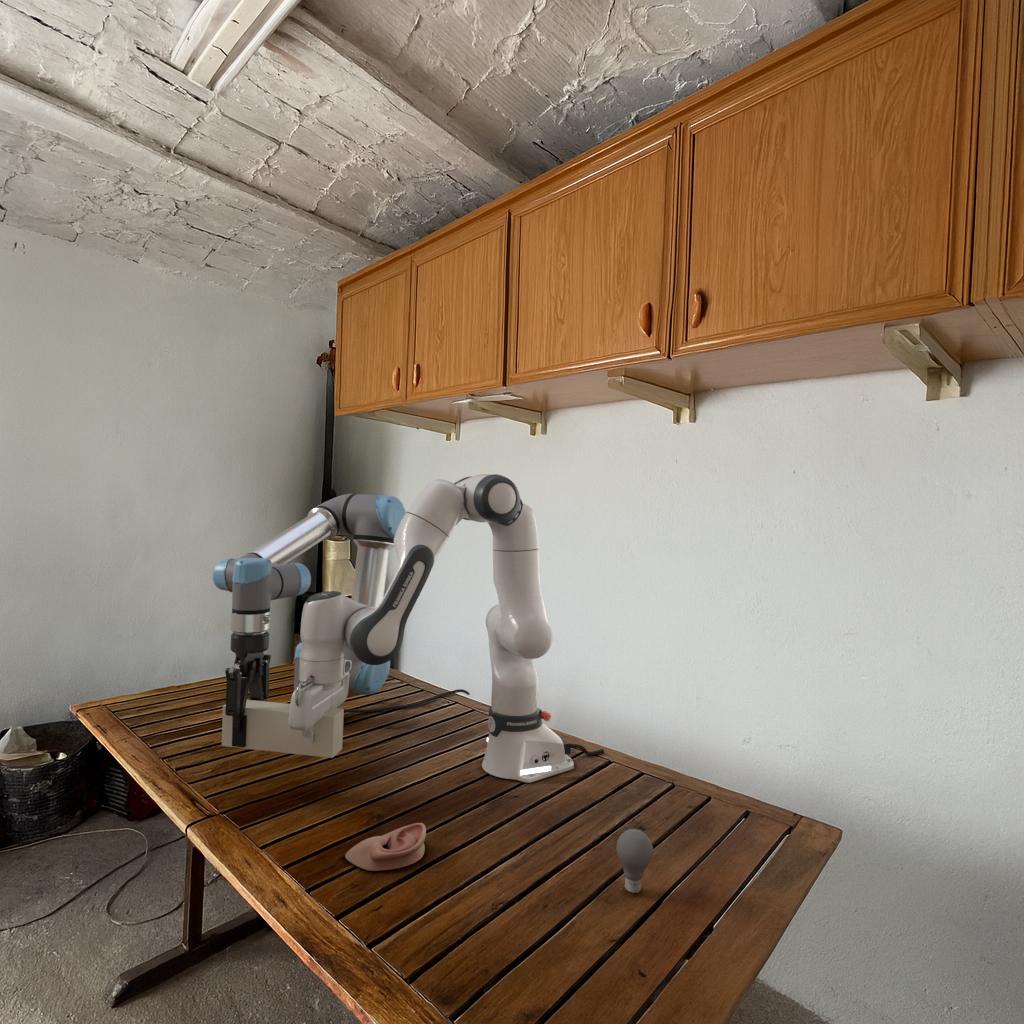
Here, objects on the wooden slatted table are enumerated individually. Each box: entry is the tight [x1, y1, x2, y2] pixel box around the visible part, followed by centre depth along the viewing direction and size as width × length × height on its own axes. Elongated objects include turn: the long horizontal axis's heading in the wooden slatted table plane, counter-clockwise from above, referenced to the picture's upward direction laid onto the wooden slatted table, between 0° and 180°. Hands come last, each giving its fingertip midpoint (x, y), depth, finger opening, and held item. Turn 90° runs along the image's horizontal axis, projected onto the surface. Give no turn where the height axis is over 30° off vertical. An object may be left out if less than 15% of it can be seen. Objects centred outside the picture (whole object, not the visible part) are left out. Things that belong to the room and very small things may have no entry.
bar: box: [221, 699, 345, 759], centre depth 133 cm, size 25×5×8 cm, turn 81°
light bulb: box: [615, 828, 654, 894], centre depth 106 cm, size 6×6×10 cm
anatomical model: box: [344, 822, 427, 872], centre depth 113 cm, size 13×4×12 cm
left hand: (246, 740), depth 134 cm, fingers closed on bar, 5 cm apart
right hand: (318, 736), depth 132 cm, fingers open, 7 cm apart
